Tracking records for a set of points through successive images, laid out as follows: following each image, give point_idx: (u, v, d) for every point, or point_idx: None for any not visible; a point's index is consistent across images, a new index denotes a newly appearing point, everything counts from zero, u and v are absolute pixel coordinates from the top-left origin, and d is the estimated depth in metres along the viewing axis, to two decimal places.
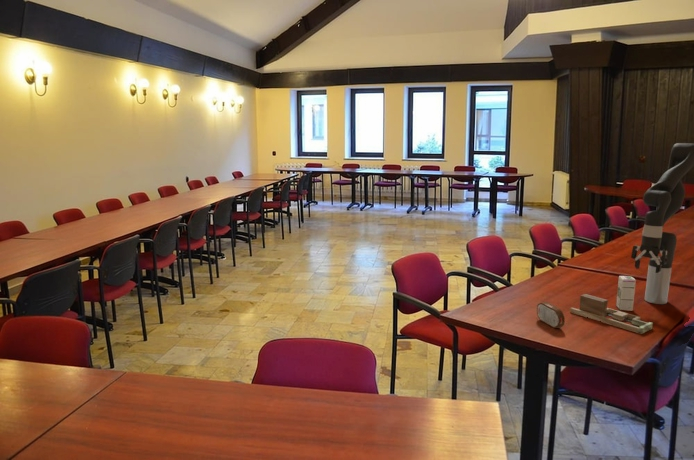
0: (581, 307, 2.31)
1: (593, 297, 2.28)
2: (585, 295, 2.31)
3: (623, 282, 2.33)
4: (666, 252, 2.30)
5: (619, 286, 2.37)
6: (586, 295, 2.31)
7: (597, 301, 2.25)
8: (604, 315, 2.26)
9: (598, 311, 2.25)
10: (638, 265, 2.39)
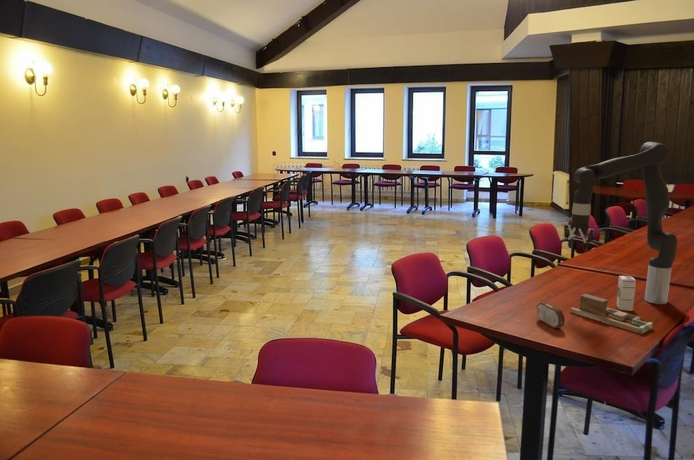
0: (581, 307, 2.31)
1: (593, 297, 2.28)
2: (585, 295, 2.31)
3: (623, 282, 2.33)
4: (594, 231, 2.33)
5: (619, 286, 2.37)
6: (586, 295, 2.31)
7: (597, 301, 2.25)
8: (604, 315, 2.26)
9: (598, 311, 2.25)
10: (571, 244, 2.42)
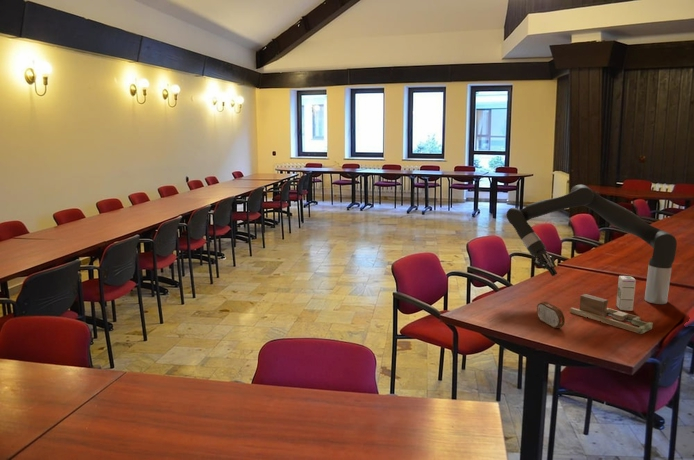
0: (581, 307, 2.31)
1: (593, 297, 2.28)
2: (585, 295, 2.31)
3: (623, 282, 2.33)
4: (537, 261, 2.42)
5: (619, 286, 2.37)
6: (586, 295, 2.31)
7: (597, 301, 2.25)
8: (604, 315, 2.26)
9: (598, 311, 2.25)
10: None
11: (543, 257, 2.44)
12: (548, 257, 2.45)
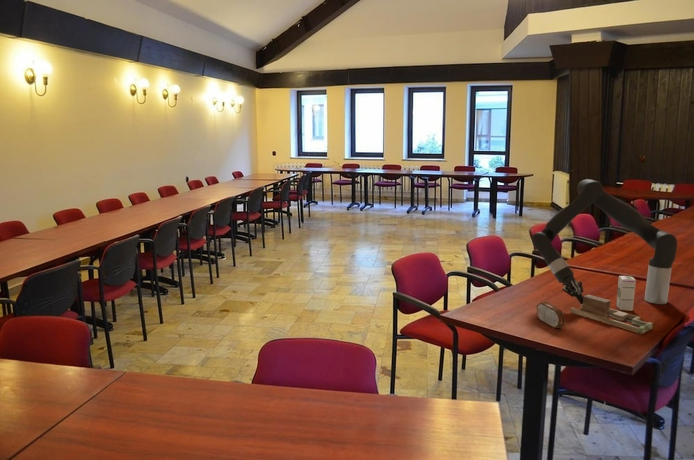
0: (584, 308, 2.30)
1: (596, 298, 2.27)
2: (588, 296, 2.30)
3: (623, 282, 2.33)
4: (565, 289, 2.32)
5: (619, 286, 2.37)
6: (589, 296, 2.30)
7: (600, 302, 2.24)
8: (607, 316, 2.25)
9: (601, 312, 2.24)
10: None
11: (571, 284, 2.34)
12: (576, 284, 2.35)
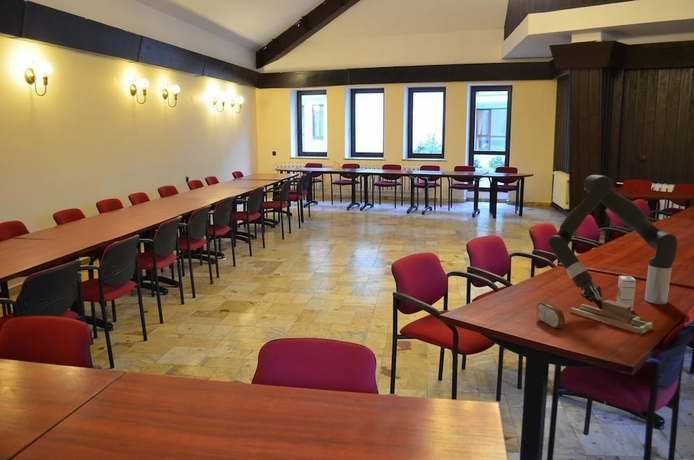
0: (603, 313, 2.23)
1: (616, 303, 2.21)
2: (607, 301, 2.23)
3: (623, 282, 2.33)
4: (584, 294, 2.25)
5: (619, 286, 2.37)
6: (608, 301, 2.23)
7: (621, 308, 2.17)
8: (627, 322, 2.18)
9: (621, 318, 2.17)
10: None
11: (590, 289, 2.27)
12: (595, 289, 2.28)
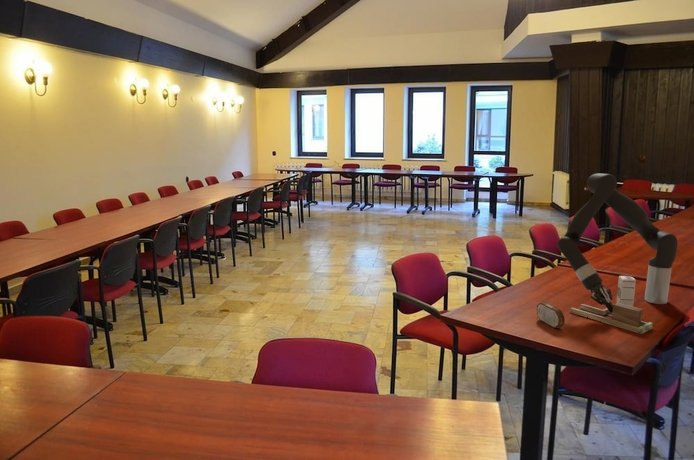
0: (614, 317, 2.20)
1: (627, 306, 2.17)
2: (618, 304, 2.20)
3: (623, 282, 2.33)
4: (594, 297, 2.22)
5: (619, 286, 2.37)
6: (619, 304, 2.20)
7: (632, 311, 2.13)
8: (639, 325, 2.14)
9: (633, 321, 2.14)
10: None
11: (600, 292, 2.24)
12: (605, 291, 2.25)
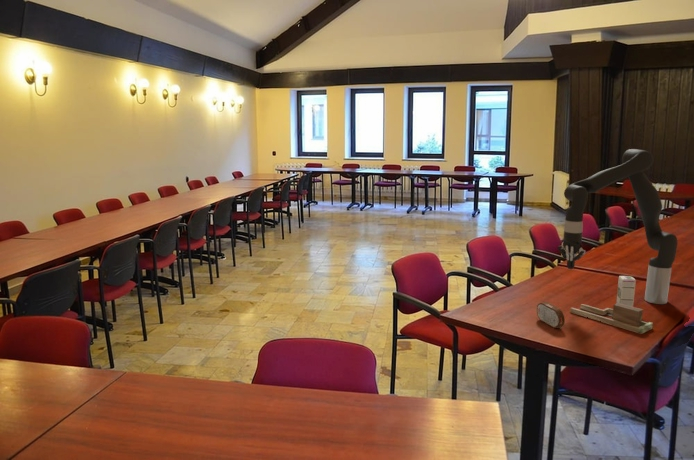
0: (614, 317, 2.20)
1: (627, 306, 2.17)
2: (618, 304, 2.20)
3: (623, 282, 2.33)
4: (584, 252, 2.29)
5: (619, 286, 2.37)
6: (619, 304, 2.20)
7: (632, 311, 2.13)
8: (639, 325, 2.14)
9: (633, 321, 2.14)
10: None
11: None
12: None
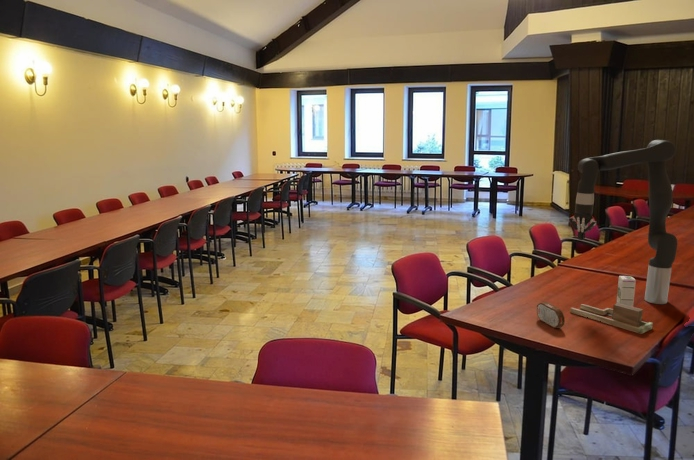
0: (614, 317, 2.20)
1: (627, 306, 2.17)
2: (618, 304, 2.20)
3: (623, 282, 2.33)
4: (595, 223, 2.38)
5: (619, 286, 2.37)
6: (619, 304, 2.20)
7: (632, 311, 2.13)
8: (639, 325, 2.14)
9: (633, 321, 2.14)
10: None
11: None
12: None
